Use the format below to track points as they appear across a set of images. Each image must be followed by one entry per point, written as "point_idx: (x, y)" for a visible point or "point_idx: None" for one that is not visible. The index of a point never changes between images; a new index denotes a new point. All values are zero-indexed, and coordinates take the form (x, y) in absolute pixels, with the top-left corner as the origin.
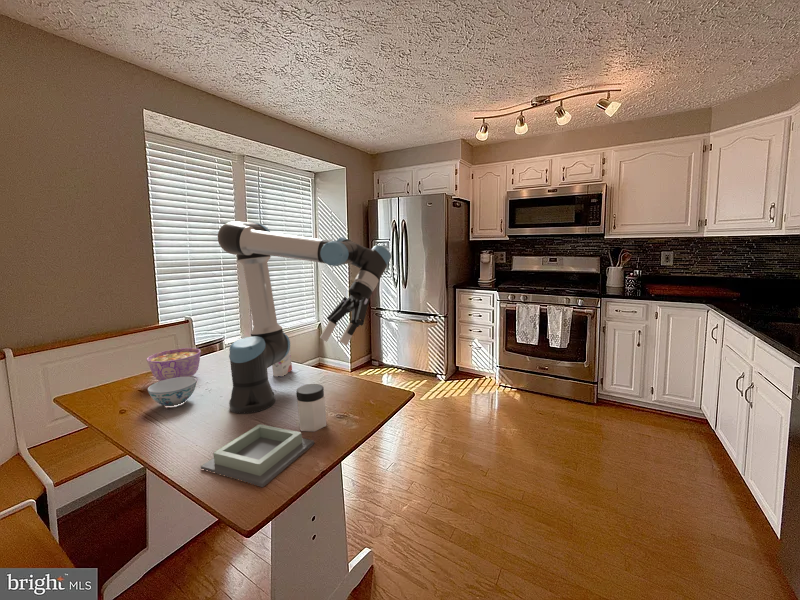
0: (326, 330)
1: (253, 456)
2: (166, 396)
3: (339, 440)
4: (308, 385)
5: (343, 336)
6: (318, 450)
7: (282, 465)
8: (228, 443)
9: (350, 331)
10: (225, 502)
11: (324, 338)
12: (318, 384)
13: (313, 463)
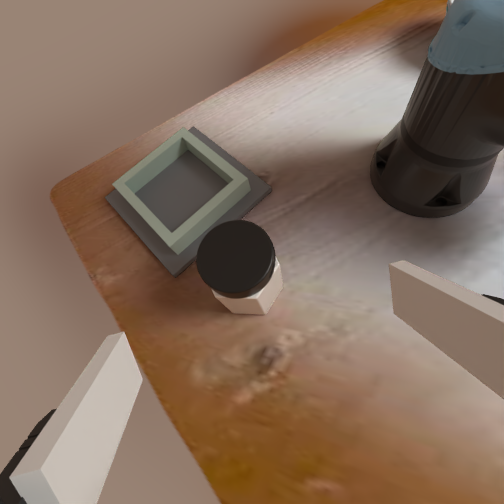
0: (436, 300)
1: (178, 184)
2: (446, 11)
3: (160, 325)
4: (261, 252)
5: (93, 363)
6: (150, 281)
7: (128, 221)
8: (200, 141)
9: (35, 431)
10: (107, 165)
11: (396, 293)
12: (255, 281)
13: (118, 267)
